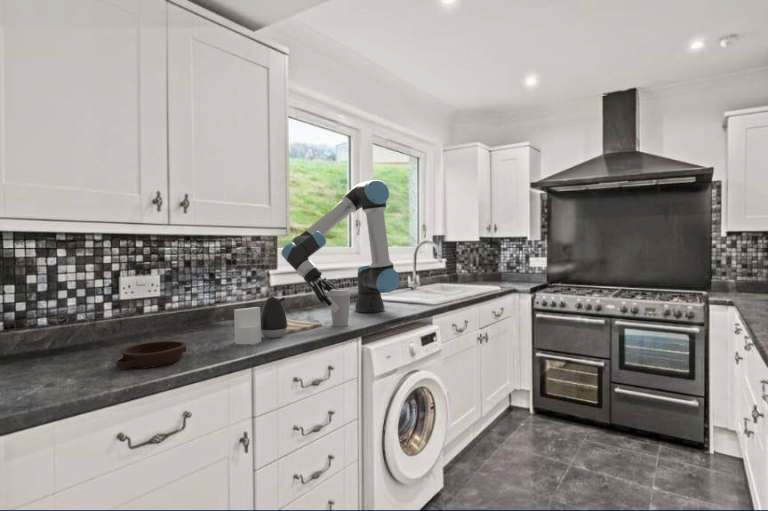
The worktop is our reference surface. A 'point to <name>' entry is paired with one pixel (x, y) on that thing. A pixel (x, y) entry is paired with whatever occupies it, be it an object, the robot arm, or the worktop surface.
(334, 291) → the coffee cup
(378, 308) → the robot arm
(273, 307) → the dark egg shaped speaker
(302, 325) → the birch board
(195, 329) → the worktop surface
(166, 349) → the dish
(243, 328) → the grey square canister
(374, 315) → the worktop surface
